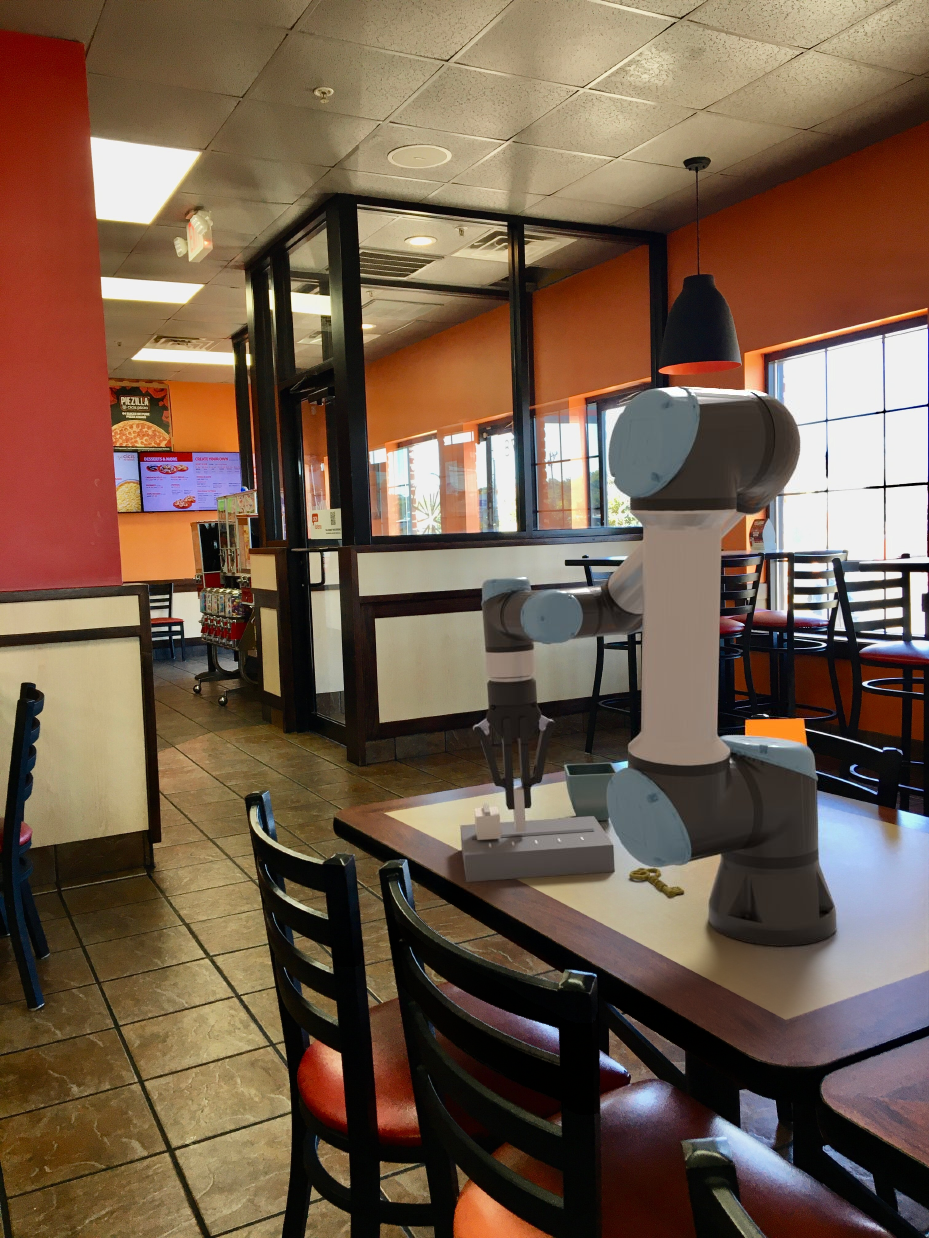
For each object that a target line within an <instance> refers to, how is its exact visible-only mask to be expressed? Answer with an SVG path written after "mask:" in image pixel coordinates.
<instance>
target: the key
mask: <svg viewBox="0 0 929 1238" xmlns="http://www.w3.org/2000/svg"><path fill="white" fill-rule="evenodd" d="M651 873H655V874H651ZM661 876H662V871H661V870H660V869H659V868H657V867H650V868H644V867H638V868H637V869H634V870H631V871H630V873H629V876H628V877H629V878H630V879H632V880H639V881H648V882H649V883H651V885H654V887H656V889H657V890H659V891H660V892H663V893H664V894H666V895H667V897H668V898H672V897H676V895H681V894H685V890H684V889H683V888H682V887H680V886H670V887H669V886H668V884H666V883H665V882H664V881H662V880H661V879H659V878H660V877H661Z"/></svg>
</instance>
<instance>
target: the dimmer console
mask: <svg viewBox="0 0 929 1238" xmlns="http://www.w3.org/2000/svg"><path fill="white" fill-rule="evenodd" d="M525 822H526V831H524V832H516V830H515V828H514V821H503V822H501V821H500V831H501V838H499V839H484V840H477V836H476V830H475V823H474V824H460V825H459V827H460V843H461V845H460V846H461V853H462V861H463V869H464V876H465V882H466V883H470V882H472V883H473V882H483V881H484V882H485V881H487V882H488V881H496V880H498V881H499V880H507V879H508V880H512V879H515V880H516V879H526V878H529V879H530V878H540V877H542V878H543V877H554V876H568V875H580V874H581V875H582V874H583V875H584V874H585V875H586V874H595V873H596V874H598V873H611V872H615V870H616V869H615V868H616V867H615V852H614V851H615V850H614V843H613V842H612V840H611V839H610V838H609V836H608V835H607V832H606V831H604V829H603V827H602V826H601V825H600V823H599V821H597V820H596V818H595V817H594V816H587V817H577V816H576V817H561V818H558V817H557V818H548V819H547V818H546V819H533V820H532V819H531V820H530V819H529V820H525Z"/></svg>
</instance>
